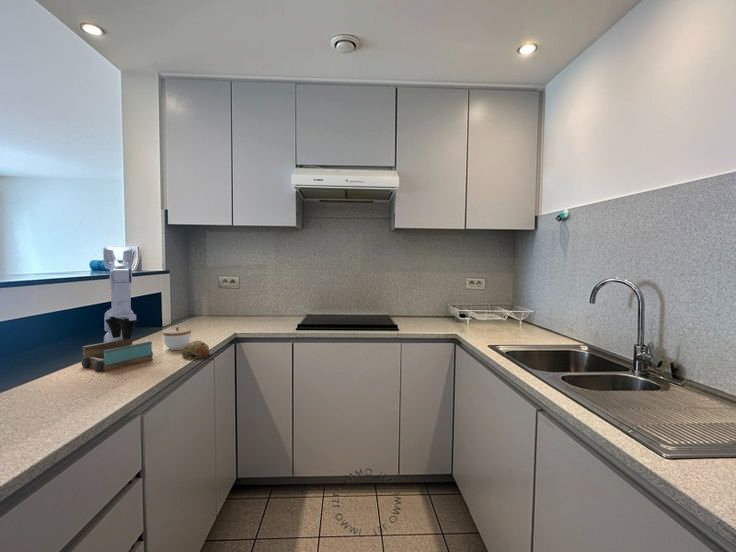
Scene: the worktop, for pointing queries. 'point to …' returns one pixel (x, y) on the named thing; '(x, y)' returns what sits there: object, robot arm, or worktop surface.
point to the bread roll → (195, 350)
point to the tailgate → (127, 352)
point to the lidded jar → (176, 338)
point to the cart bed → (95, 356)
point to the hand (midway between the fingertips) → (121, 338)
